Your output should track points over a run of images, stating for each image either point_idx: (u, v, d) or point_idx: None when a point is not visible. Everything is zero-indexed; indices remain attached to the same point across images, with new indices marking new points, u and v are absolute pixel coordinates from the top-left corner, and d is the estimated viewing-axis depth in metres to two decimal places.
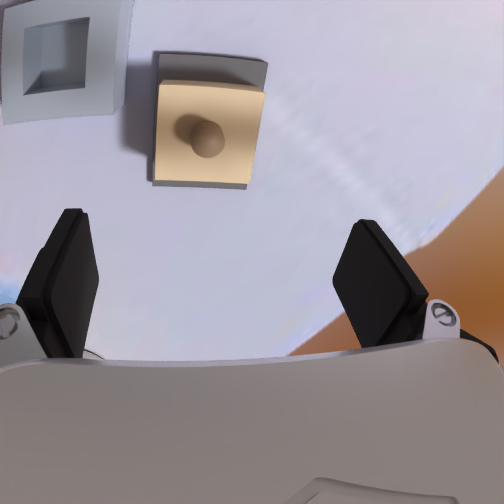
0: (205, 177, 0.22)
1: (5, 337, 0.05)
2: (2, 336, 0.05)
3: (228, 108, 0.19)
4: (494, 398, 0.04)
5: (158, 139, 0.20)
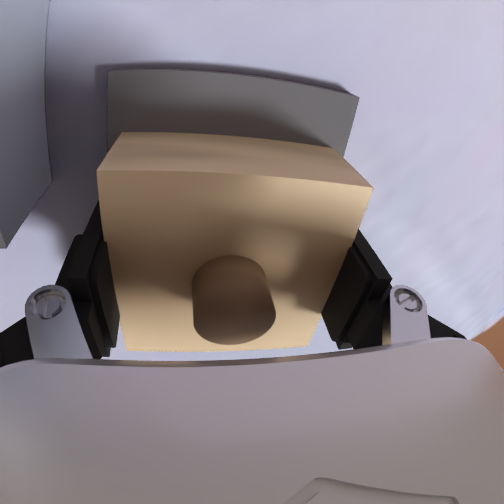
0: (225, 346, 0.11)
1: (47, 318, 0.06)
2: (44, 316, 0.06)
3: (284, 226, 0.08)
4: (494, 398, 0.04)
5: (118, 291, 0.09)
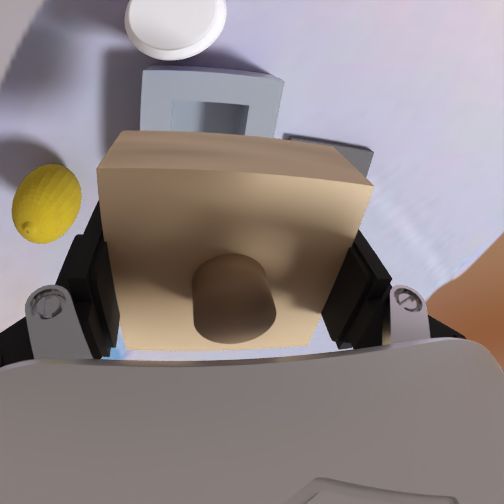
0: (225, 345, 0.11)
1: (47, 318, 0.06)
2: (44, 316, 0.06)
3: (284, 224, 0.08)
4: (494, 398, 0.04)
5: (118, 290, 0.09)
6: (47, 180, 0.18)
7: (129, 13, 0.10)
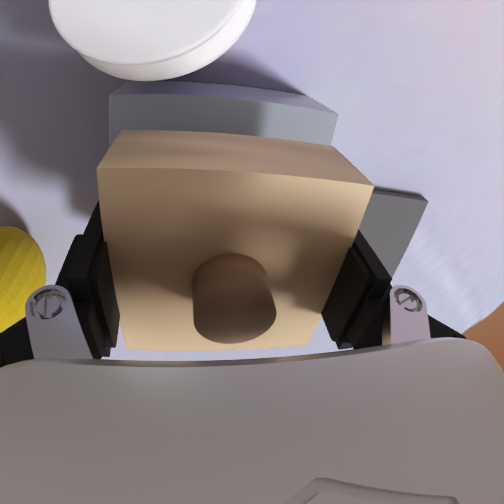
0: (225, 345, 0.11)
1: (47, 317, 0.06)
2: (44, 316, 0.06)
3: (284, 224, 0.08)
4: (494, 398, 0.04)
5: (118, 290, 0.09)
6: None
7: None
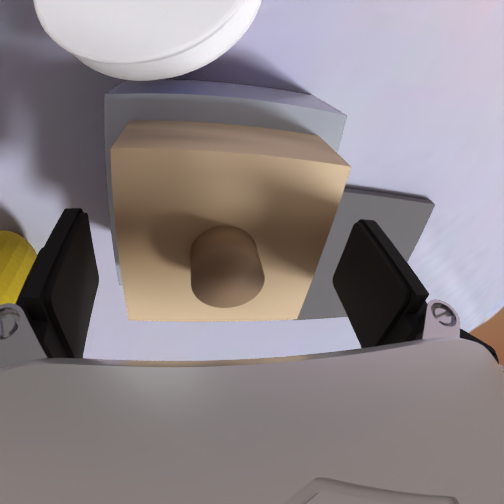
0: (220, 316, 0.12)
1: (5, 337, 0.05)
2: (2, 336, 0.05)
3: (272, 199, 0.09)
4: (494, 398, 0.04)
5: (124, 260, 0.10)
6: None
7: None
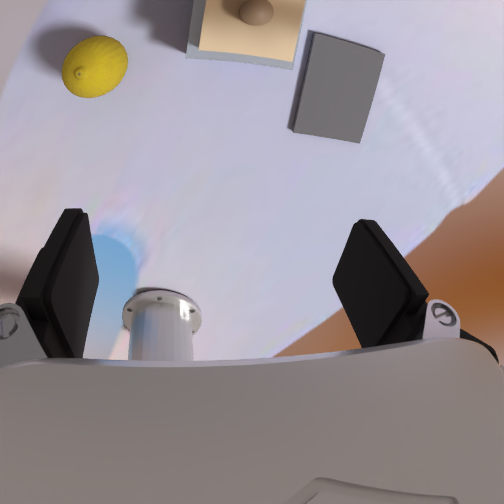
0: (249, 51, 0.20)
1: (5, 337, 0.05)
2: (2, 336, 0.05)
3: None
4: (494, 398, 0.04)
5: (206, 11, 0.17)
6: (103, 39, 0.18)
7: None
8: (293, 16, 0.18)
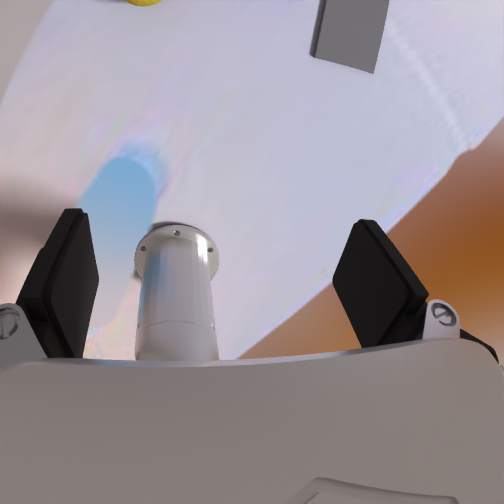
0: None
1: (5, 337, 0.05)
2: (2, 336, 0.05)
3: None
4: (494, 398, 0.04)
5: None
6: None
7: None
8: None
